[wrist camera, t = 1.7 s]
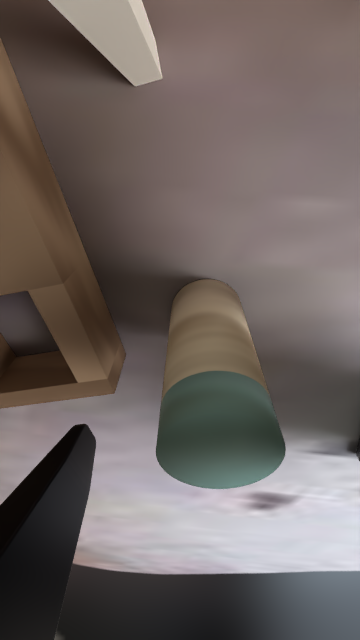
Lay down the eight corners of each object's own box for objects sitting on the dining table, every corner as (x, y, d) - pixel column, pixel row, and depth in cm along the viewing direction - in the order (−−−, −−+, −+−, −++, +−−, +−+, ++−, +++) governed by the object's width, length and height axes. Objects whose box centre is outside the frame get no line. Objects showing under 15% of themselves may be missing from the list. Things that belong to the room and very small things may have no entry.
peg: (244, 333, 15) (286, 484, 9) (179, 343, 16) (171, 492, 9) (237, 273, 14) (284, 404, 7) (164, 286, 14) (140, 420, 7)
